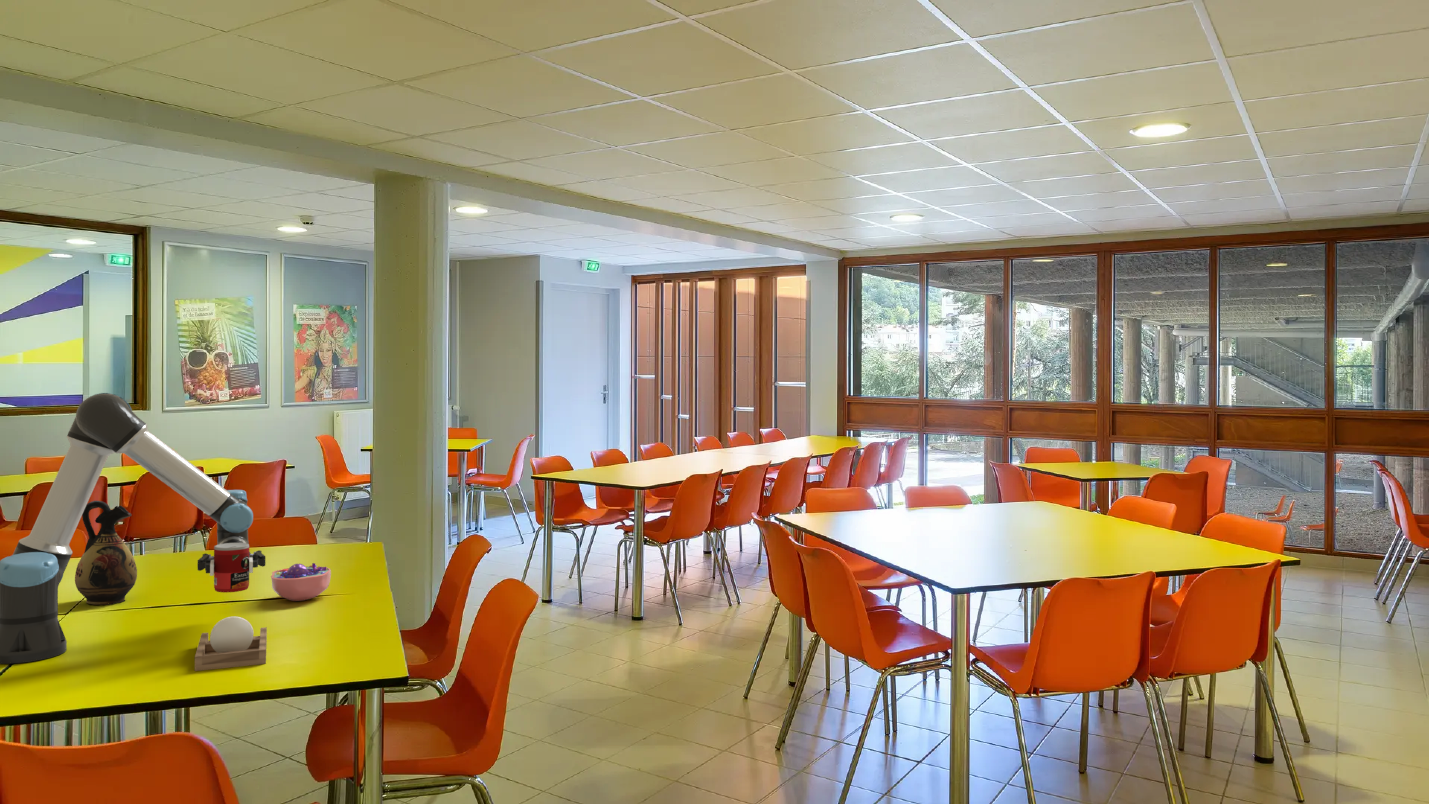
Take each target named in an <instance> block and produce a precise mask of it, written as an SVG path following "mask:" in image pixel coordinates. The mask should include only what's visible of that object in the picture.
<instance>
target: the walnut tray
mask: <svg viewBox="0 0 1429 804" xmlns="http://www.w3.org/2000/svg"><path fill="white" fill-rule="evenodd" d="M259 629H260V631H259V635H256V636H255V635H253V640H252V643H251V645H250V646H249V647H248V648H247V649H246V650H243V651H233V652H223V653H217V652H216V651H215V650H214V649H213V648H212V646H211V643H210V640H209V632H202V633H201V634H200V638H199V641H198V645H197V648H196V652H195V655H194V671H195V672H198V671H206V670H207V671H209V670H217V669H227V668H235V667H236V668H237V667H245V666H254V665H264V664H266V663H267V645H268V644H267V642H268V641H267V640H268V639H267V637H268V636H267V635H268V633H267V631H268V629H267V626H266V627H260V628H259Z"/></svg>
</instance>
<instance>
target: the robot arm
mask: <svg viewBox="0 0 1429 804" xmlns="http://www.w3.org/2000/svg"><path fill="white" fill-rule="evenodd" d="M66 438H67V440H68V442H69V445H70V446H69V447H68V450H67V452H66V454H65V457H64V459H63V461H62V463H61V465H60V467H59V469H58V472H57V474H56V476H55V478H54V480H53V482H52V485H51V487H50V489H49V491H48V494H47V496H46V499H45V501H44V503H43V505H42V506H41V509H40V511H39V514H38V515H37V518H36V520H35V522H34V524H33V527H32V529H31V531H30V533H29V535H27V536H25V537H23V538H20V539H19V540H18V543H17V545H16V547H15V549H14V551H13V553H12V554H11V555H10V556H9V555H8V556H6V557H4V558H2V559H0V665H1V664H2V665H3V664H5V665H8V664H9V665H10V664H21V663H30V662H37V661H42V660H46V659H49V658H54V657H56V656H59V655H61V654H64V653H65V652H66V651H67V642H68V641H67V639H66V637H65V634H64V631H63V628H62V626H61V624H60V622H59V621H60V620H59V612H58V610H59V607H58V606H59V605H58V603H59V600H58V599H59V586H60V583H61V582H62V580H63V577H64V574H65V571H66V569H67V567H68V564H69V562H70V560H71V558H72V555H73V550H72V549H71V546H70V543H71V541H72V538H73V537H74V533H75V531H76V529H77V527H78V525H79V522H80V521H81V519H82V514H83V512H84V509H85V507H86V505H87V504H88V503H89V501H90V498H91V496H92V494H93V491H94V489H95V487H96V485H97V482H98V481H99V478H100V476H101V474H102V471H103V469H104V466H105V464H106V463H107V460H108V458H109V457H110V455H113V454H115V453H116V454H124V455H126V456H127V457H128V458H130V459H131V460H132V461H134V462H135V463H137V464H138V465H139V466H141V467H142V468H143V469H145V470H146V471H147V472H148V473H150V474H151V475H153V476H154V477H156V478H157V479H158V480H160V481H161V482H162V483H163V484H165V485H166V486H167V487H169V488H171V489H172V490H173V491H174V492H176V493H177V494H179V495H180V496H182V497H183V498H184V499H186V501H188V502H190V503H191V504H192V505H194V506H195V507H196V508H198V509H199V510H201V511H202V512H203V513H204V514H206V515H207V516H208V517H210V519H212V520H213V521H215V522H216V528H217V529H216V537H217V542H216V543H217V544H216V545H219V544H225V543H247V544H249V543H250V542H249V528H250V527H251V526H252V524H253V522H254V512H253V510H252V509H251V507H249V505H248V501H249V500H248V498H247V496H248V495H247V491H245V490H243V489H226V488H224V487H223V486H221V484H219V483H217V482H216V481H215V480H214V479H212V478H211V477H209V475H207V474H206V473H205V472H203V471H202V470H201V469H199V468H198V467H197V466H195V465H194V464H193V463H191V462H190V461H188V460H187V459H186V458H185V457H183V456H182V455H181V454H180V453H178V452H177V451H176V450H174V449H173V448H171V446H169V445H168V444H166V443H165V442H164V441H162V440H161V439H160V438H158V437H157V436H156V435H154V434H153V433H152V432H151V431H149V429H148V423H147V422H145V421H143V420H142V419H141V418H139V416H138V415H137V414H135V412H133V410H132V407H131V405H130V404H129V402H128V401H127V400H125V398H123V397H122V396H119V395H118V394H114V393H113V394H112V393H110V392H100V393H95V394H93V395H90V396H88V398H86V399H84V400H83V401H82V402H80V404H79V406H78V408H77V409H76V413H75V417H74V419H73V421H72V423H71V426H70V428H69V431H68V433H67V435H66ZM249 545H250V544H249ZM259 566H260V567H265V566H266V555H265V554H264V553H262V550H256V551H253V553H251V551H249V574H252V573H253V572H254V568H258V567H259ZM203 570H205V574H209V576H212V577H214V555H212V554H208V553H206V552H205V553H203V554H202V556H201V557H200V558H199V559H198V560H197V571H199V572H200V571H203Z"/></svg>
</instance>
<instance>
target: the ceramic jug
mask: <svg viewBox="0 0 1429 804" xmlns="http://www.w3.org/2000/svg"><path fill="white" fill-rule="evenodd" d="M97 508H99V509H101V510H102V512H101V513H100V514H99V515H98V516H97V517H96V518H95V520H94V521H95V524H100V526H101V527H100V529H99V530H98V533H97V534H96V533H95V529H94V527H93V526H92V522H91V519H90V512H91V510H94V509H97ZM132 515H133V514H132V513H131V512H129V511H128V510H127V508H125V507H124V506H122V505H116V506H115V507H114V508H112V509H111V508H110V505H109V504H108V503H106V502H104V501H102V500H92V501H90V502H88V503H87V505H86V507H85V509H84V512H83V514H82V516H81V519H82V522H83V524H84V527H85V530H86V533H87V536H88V539H87V543H86V545H85V549H84V552H83V554H82V556H81V558H80V559H79V562H78V563H77V565H76V568H75V569H76V570H75V575H74V583H75V587H76V590H77V591H78V593H80V594H81V595H82V596H83V597H84V598H85V599H86V602H85V603H86V604H89V605H96V606H100V605H107V606H109V605H114V604H118V603H123V602H125V601H126V600H125V599H126V597H127V596H126V595H127V594H128V593H130V591H131V590H132V589H133V588H134V586H135V585H136V581H137V579H138V568H137V565H136V561H135V557H134V556H133V554H132V552H131V551H130V549H129V547H128V546H127V544H126V543H125V542H124V541H123V539H122V538H121V537H120V536H119V535H118V533H117V532H116V529H115V528H116V527H115V525H116V524H117V523H118V522H121V521H122V520H125V519H127V518H129V517H132Z"/></svg>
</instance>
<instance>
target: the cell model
mask: <svg viewBox="0 0 1429 804" xmlns="http://www.w3.org/2000/svg"><path fill="white" fill-rule="evenodd" d="M331 576H332V570H331V568H329V567H327V566H320V565H318V566H317V565H316V563H314V562H313V563H312V564H311V565H309V566H306V565H304V564H303V563H294V564H292V565H291V566H289V568H282V569H279V570H278V569H277V570H274V571H272V572H271V576H270V578H271V588H272V590H273V591H274V592H275V594H276V595H278V596H279V597H281V598H284V599H286V600H289V601H291V602H301V601H307V600H310V599H313V598H316V597H318V596H319V595H321V594H322V593H323V592H325V590H328V588H329V586H330V582H331Z"/></svg>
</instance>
